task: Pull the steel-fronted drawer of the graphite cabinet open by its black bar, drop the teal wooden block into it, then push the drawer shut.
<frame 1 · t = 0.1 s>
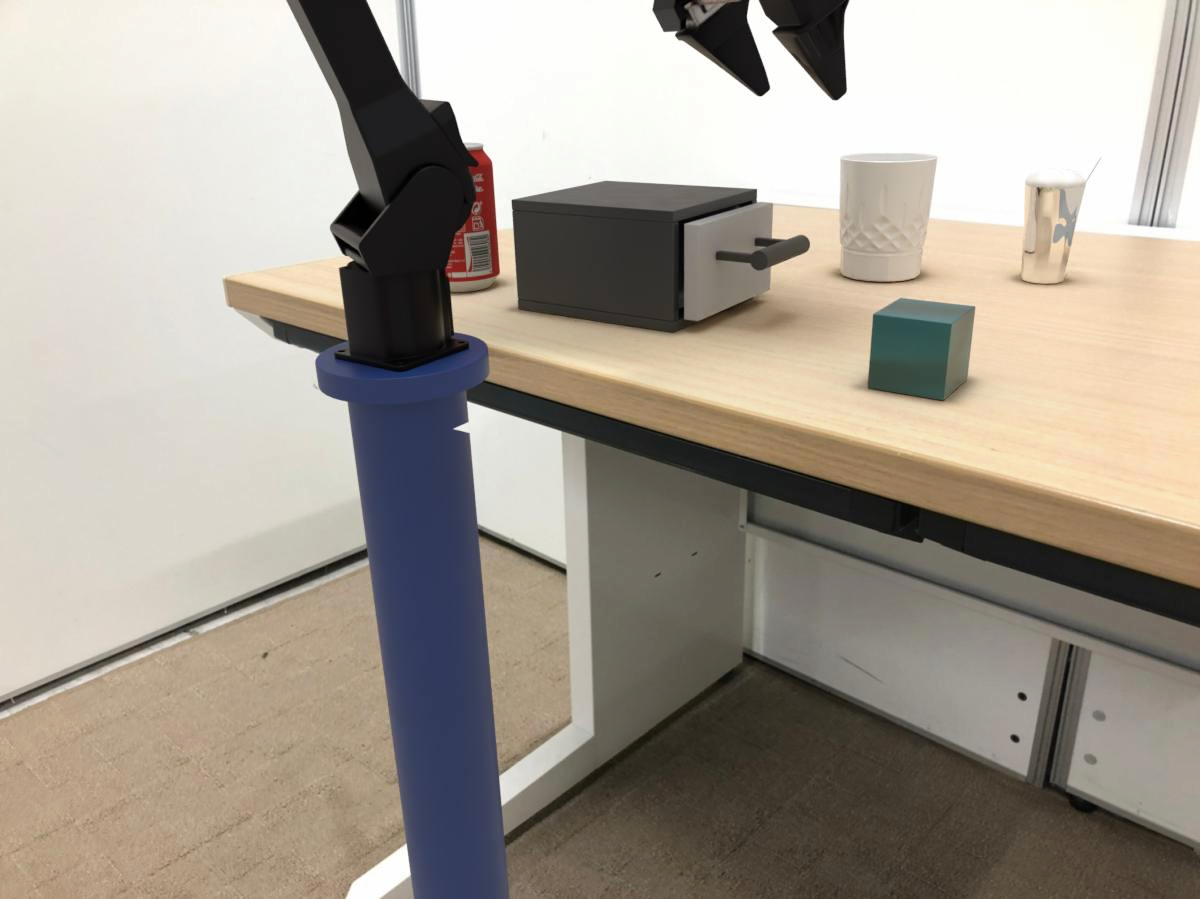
hand: (800, 94, 72), 16 cm above the table, tool tilted 30°, fingers open, 9 cm apart
milkshake: (1046, 282, 83), on the table
beverage can: (465, 288, 88), on the table
white cup: (879, 276, 87), on the table
block: (917, 383, 59), on the table
cabinet: (637, 303, 80), on the table
drawer: (683, 254, 76), point 4 cm above the table, slide at 0.5 cm
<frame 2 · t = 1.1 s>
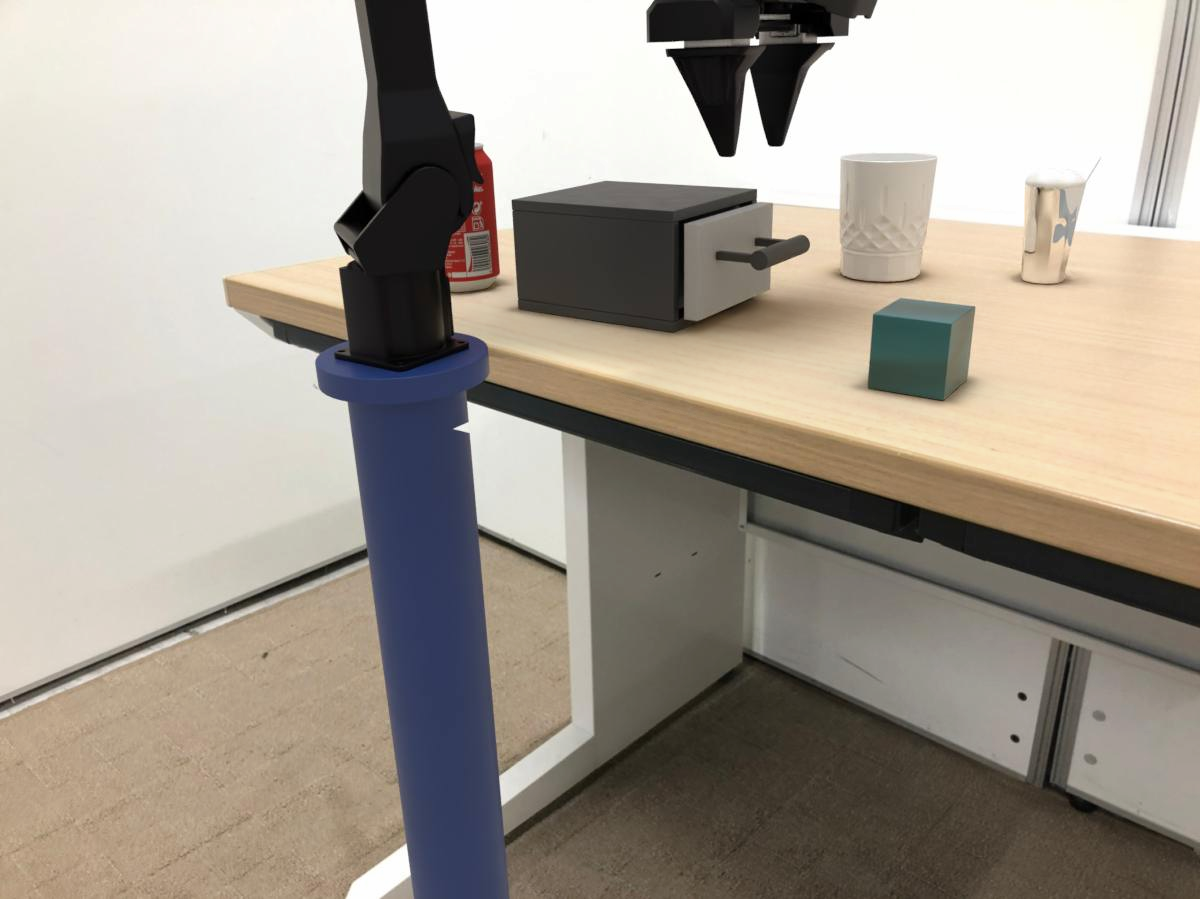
hand: (752, 151, 70), 12 cm above the table, tool pointing down, fingers open, 7 cm apart
nothing on the table moved.
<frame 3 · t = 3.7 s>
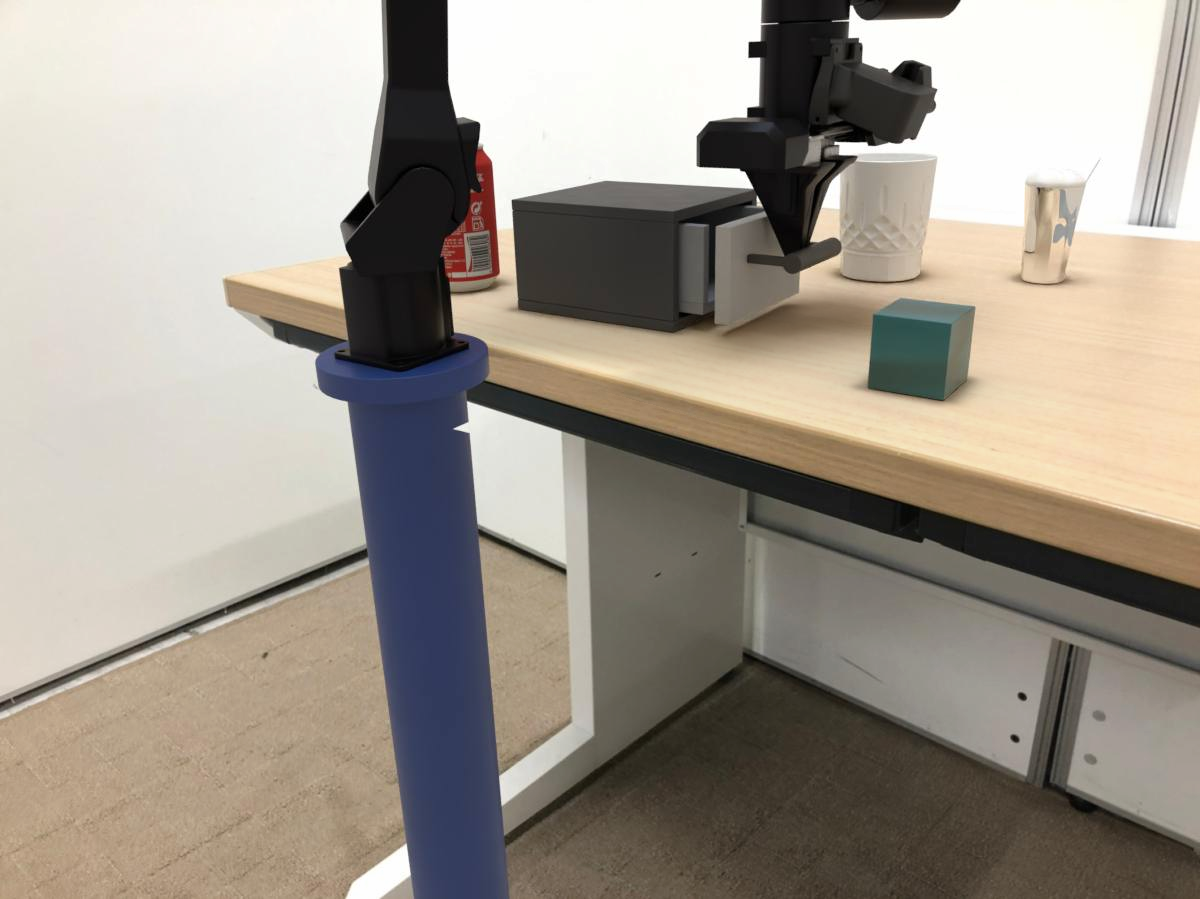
hand: (795, 260, 71), 5 cm above the table, tool pointing down, fingers closed, pressing on drawer
drawer: (711, 257, 74), point 4 cm above the table, slide at 3.0 cm, touching gripper
everything else where it was.
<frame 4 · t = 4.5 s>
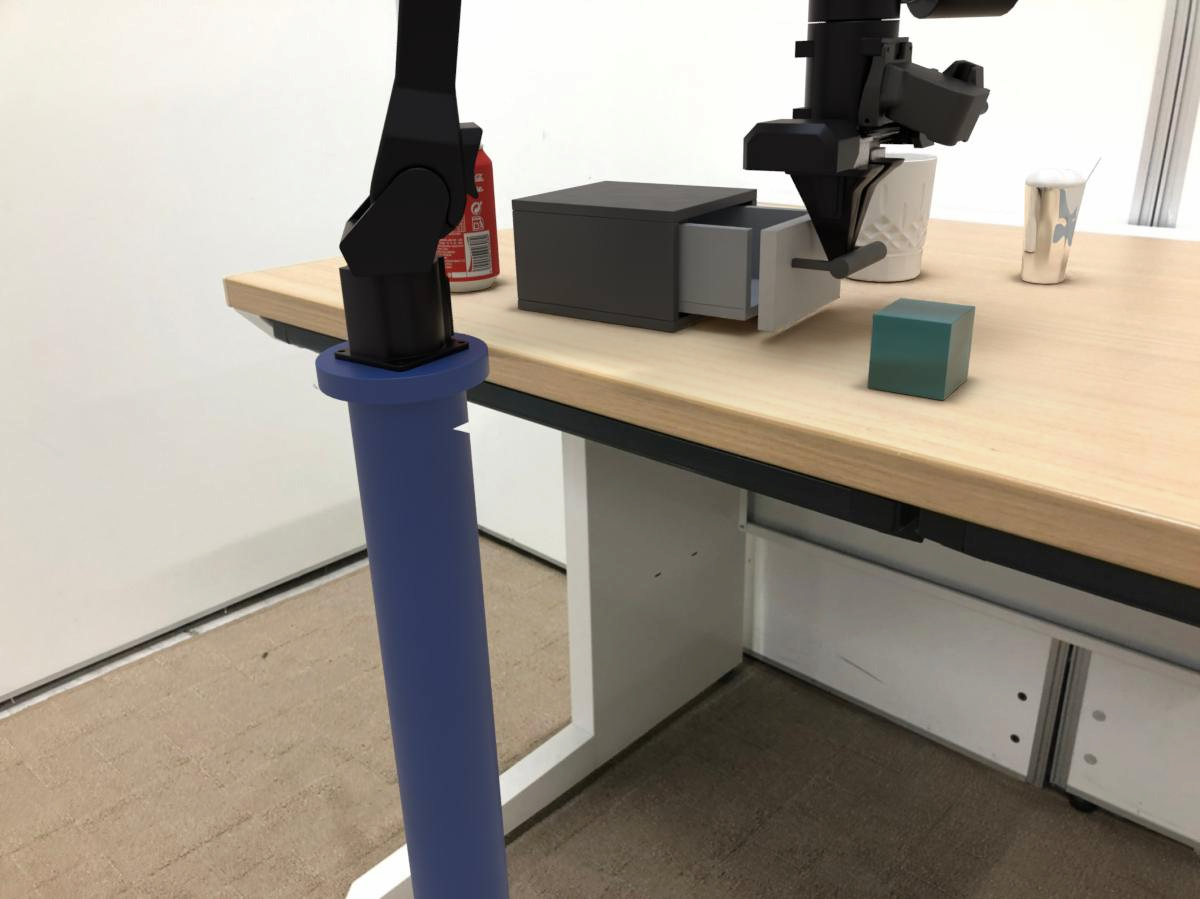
hand: (839, 265, 69), 5 cm above the table, tool pointing down, fingers closed, pressing on drawer
drawer: (752, 261, 72), point 4 cm above the table, slide at 6.4 cm, touching gripper
everything else where it was.
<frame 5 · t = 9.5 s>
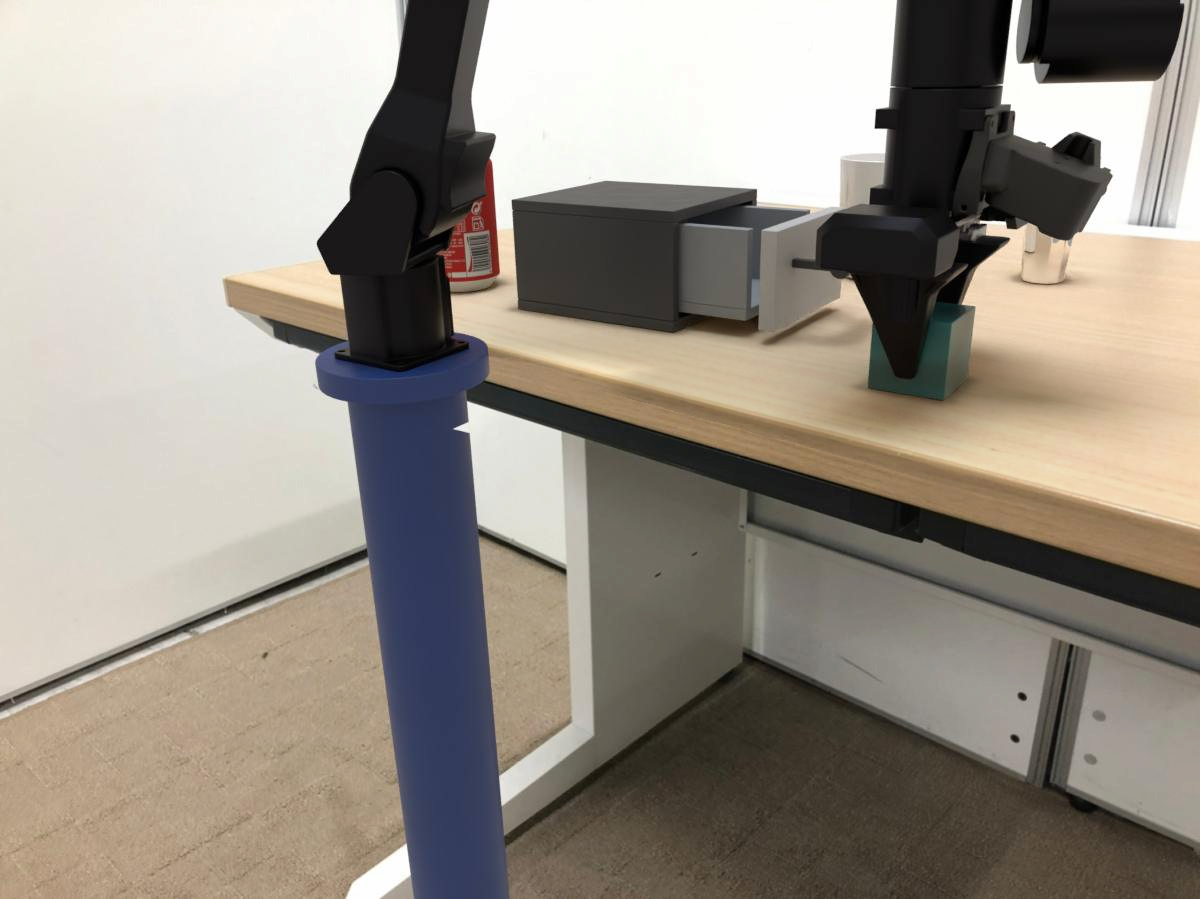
hand: (918, 367, 58), 1 cm above the table, tool pointing down, fingers closed on block, 4 cm apart
block: (917, 383, 59), on the table, touching gripper
drawer: (752, 261, 72), point 4 cm above the table, slide at 6.4 cm
everything else where it was.
when the fingers open (8 cm above the table, at t = 14.1 s): block drops 5 cm, resting on drawer.
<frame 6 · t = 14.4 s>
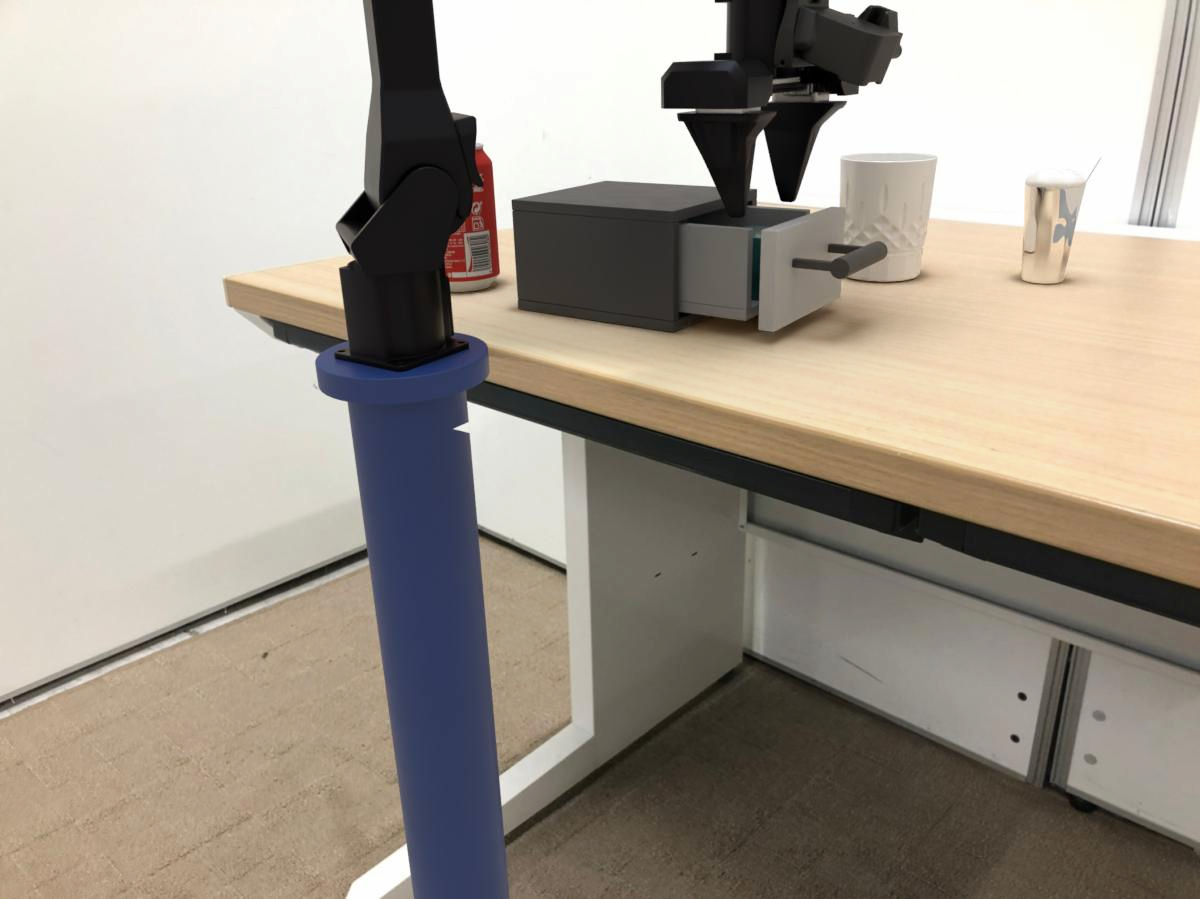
hand: (763, 209, 71), 8 cm above the table, tool pointing down, fingers open, 8 cm apart
block: (760, 293, 73), point 2 cm above the table, touching drawer
drawer: (752, 261, 72), point 4 cm above the table, slide at 6.4 cm, touching block
everything else where it was.
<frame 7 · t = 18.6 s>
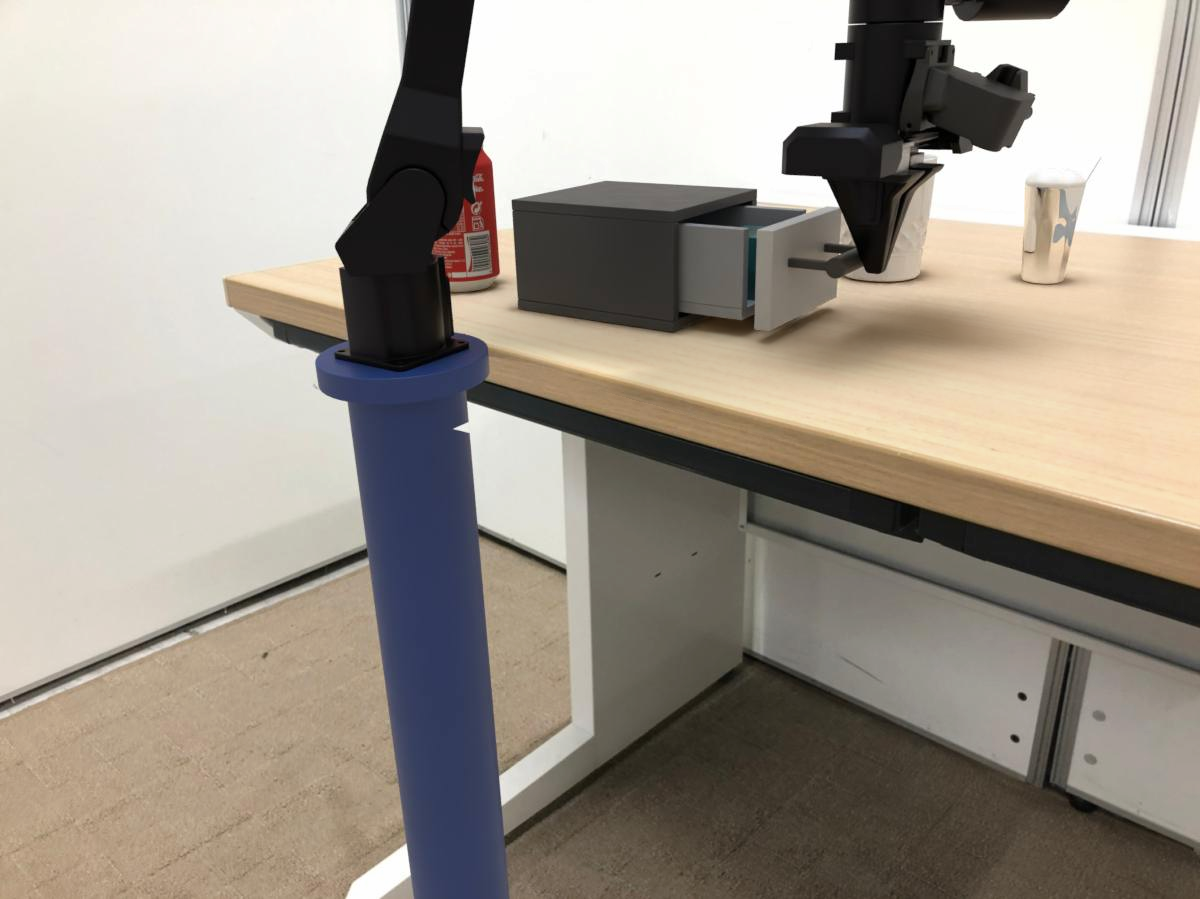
hand: (875, 272, 67), 4 cm above the table, tool pointing down, fingers closed, pressing on drawer
drawer: (748, 260, 73), point 4 cm above the table, slide at 6.1 cm, touching block, gripper
everything else where it was.
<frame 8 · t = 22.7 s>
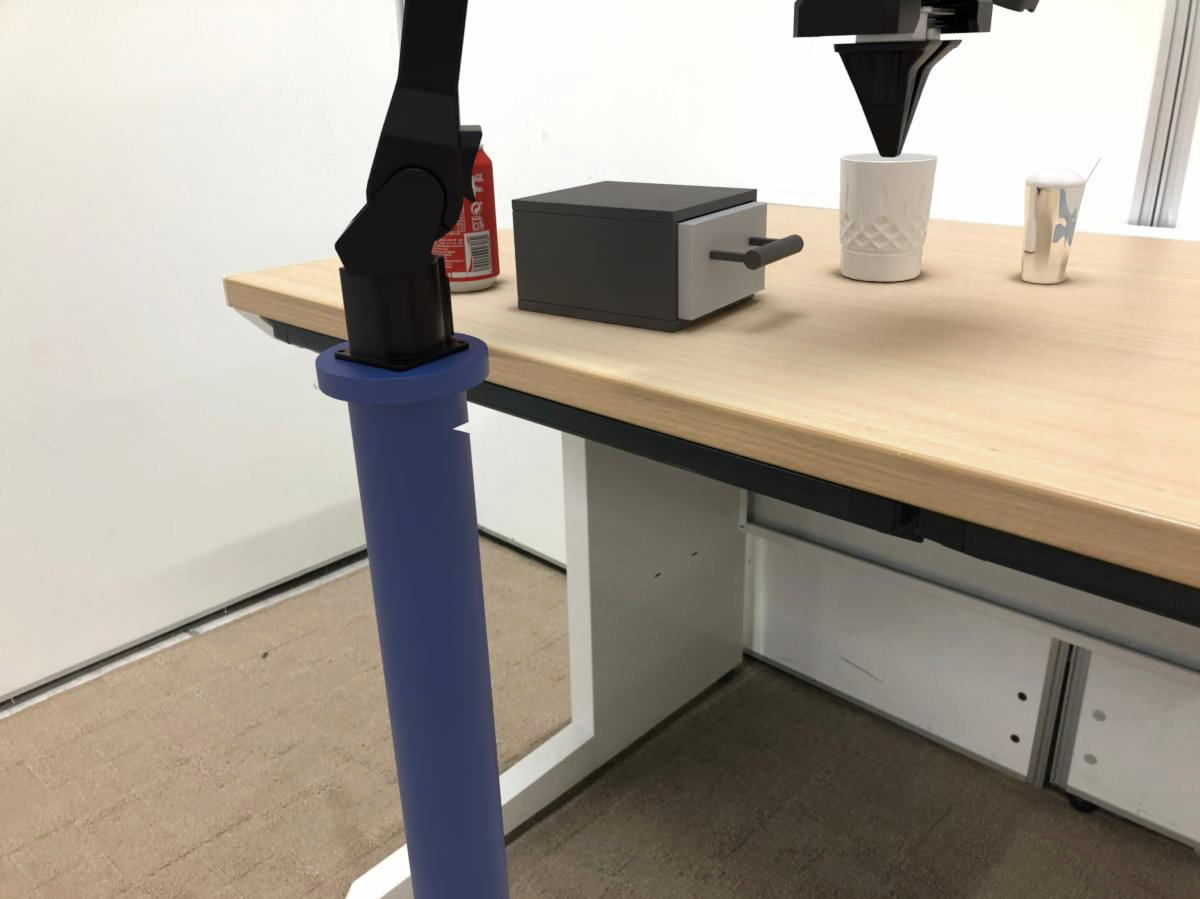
hand: (890, 156, 64), 12 cm above the table, tool pointing down, fingers closed
block: (685, 284, 76), point 2 cm above the table, touching drawer
drawer: (677, 253, 76), point 4 cm above the table, slide at 0.0 cm, touching block
everything else where it was.
at the end: drawer pulled out 6.4 cm at the most during the clip, back to where it started at the end; block inside the target area in the cabinet (3.6 cm from its centre), point 2.0 cm above the cabinet's base; drawer slide at 0.0 cm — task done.
